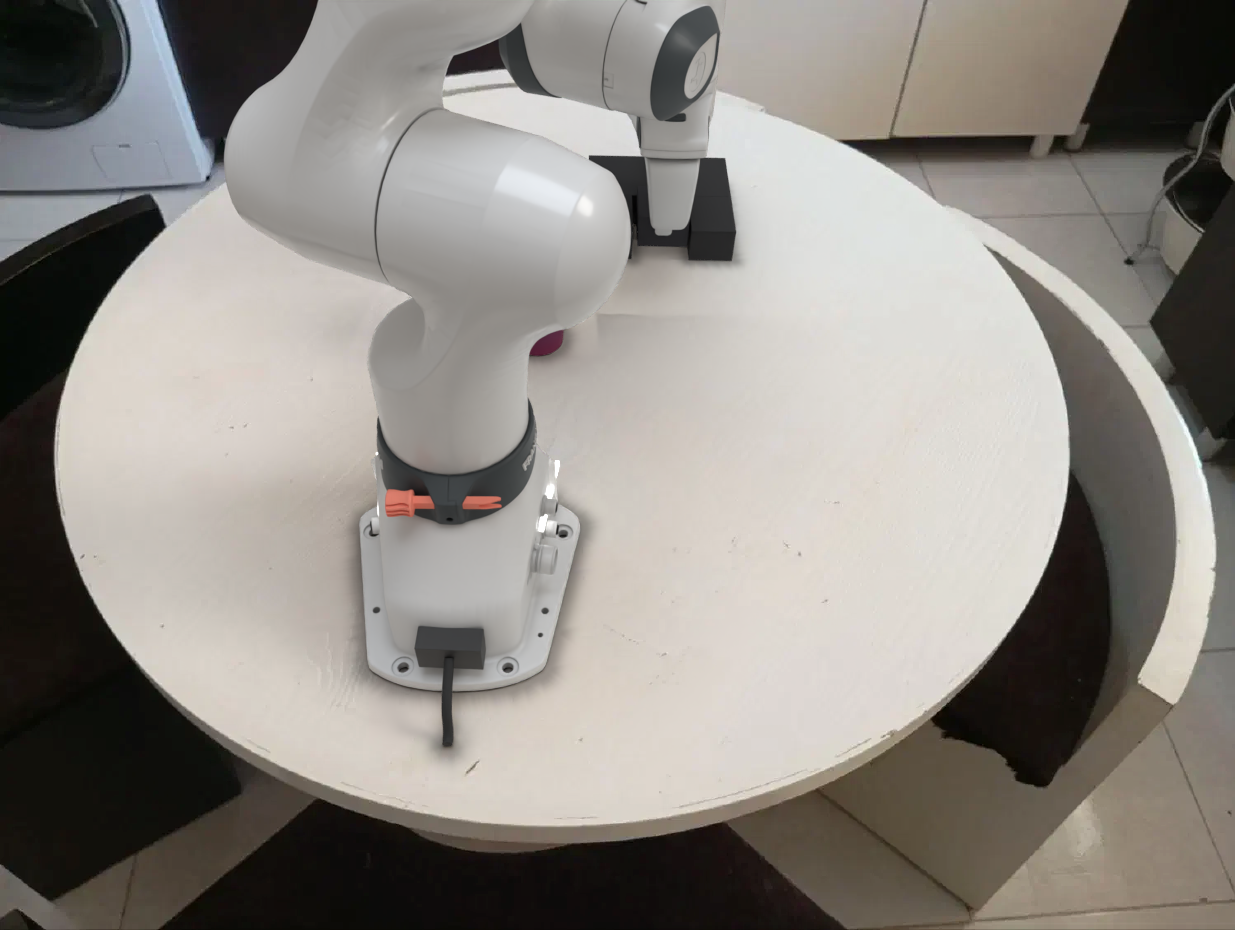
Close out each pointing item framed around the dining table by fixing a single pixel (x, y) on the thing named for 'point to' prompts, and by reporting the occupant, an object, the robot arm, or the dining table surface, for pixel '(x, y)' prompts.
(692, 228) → the big black u-shaped block
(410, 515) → the robot arm
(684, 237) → the small cube
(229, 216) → the dining table surface
